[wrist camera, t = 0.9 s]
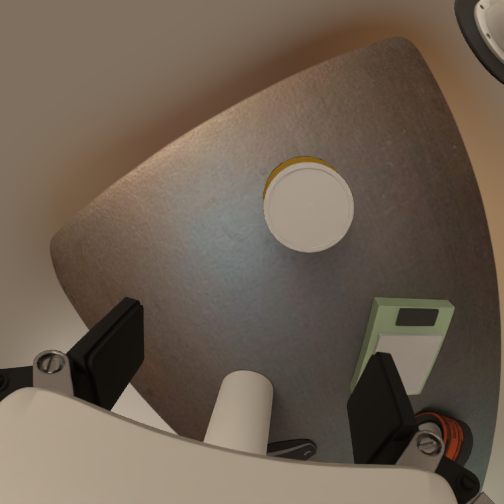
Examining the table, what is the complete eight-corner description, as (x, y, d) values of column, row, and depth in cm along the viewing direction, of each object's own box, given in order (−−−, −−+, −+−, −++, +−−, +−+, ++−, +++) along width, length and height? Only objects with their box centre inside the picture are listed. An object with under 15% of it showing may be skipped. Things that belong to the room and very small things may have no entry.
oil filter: (433, 396, 41) (455, 449, 29) (465, 409, 41) (487, 454, 29) (386, 438, 45) (397, 490, 33) (422, 447, 46) (435, 492, 33)
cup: (217, 370, 43) (188, 451, 28) (270, 369, 42) (259, 456, 27) (226, 405, 46) (205, 482, 30) (275, 405, 44) (266, 486, 29)
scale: (374, 296, 37) (380, 308, 33) (447, 299, 35) (457, 310, 32) (349, 386, 42) (352, 400, 38) (415, 384, 40) (421, 397, 37)
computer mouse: (320, 451, 48) (321, 466, 44) (264, 463, 50) (262, 477, 47) (308, 433, 46) (308, 450, 42) (249, 447, 49) (246, 462, 45)
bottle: (317, 148, 32) (339, 141, 18) (339, 205, 34) (372, 238, 20) (261, 170, 34) (240, 179, 19) (284, 225, 35) (279, 272, 21)
